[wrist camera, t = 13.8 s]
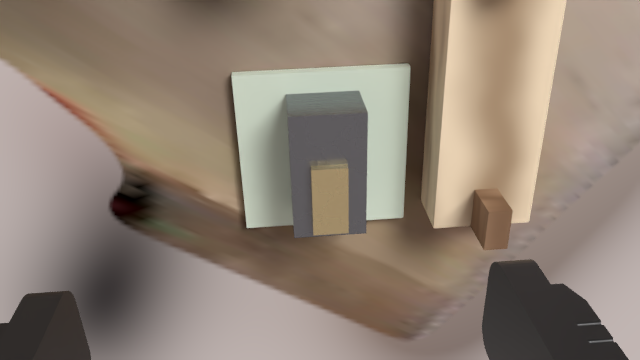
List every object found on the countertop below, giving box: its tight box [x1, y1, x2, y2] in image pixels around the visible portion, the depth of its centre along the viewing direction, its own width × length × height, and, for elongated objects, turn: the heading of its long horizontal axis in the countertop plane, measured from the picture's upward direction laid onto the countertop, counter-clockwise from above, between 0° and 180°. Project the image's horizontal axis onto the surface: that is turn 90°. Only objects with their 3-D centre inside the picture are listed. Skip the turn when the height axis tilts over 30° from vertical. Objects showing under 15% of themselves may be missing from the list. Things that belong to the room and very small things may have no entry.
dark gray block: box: [286, 91, 368, 238], centre depth 41 cm, size 5×9×5 cm, turn 2°
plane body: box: [421, 0, 566, 250], centre depth 39 cm, size 7×20×7 cm, turn 2°
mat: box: [231, 63, 411, 228], centre depth 43 cm, size 12×12×1 cm
